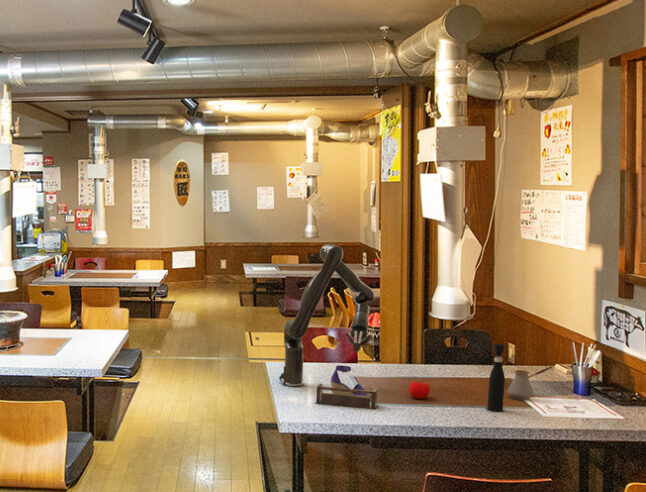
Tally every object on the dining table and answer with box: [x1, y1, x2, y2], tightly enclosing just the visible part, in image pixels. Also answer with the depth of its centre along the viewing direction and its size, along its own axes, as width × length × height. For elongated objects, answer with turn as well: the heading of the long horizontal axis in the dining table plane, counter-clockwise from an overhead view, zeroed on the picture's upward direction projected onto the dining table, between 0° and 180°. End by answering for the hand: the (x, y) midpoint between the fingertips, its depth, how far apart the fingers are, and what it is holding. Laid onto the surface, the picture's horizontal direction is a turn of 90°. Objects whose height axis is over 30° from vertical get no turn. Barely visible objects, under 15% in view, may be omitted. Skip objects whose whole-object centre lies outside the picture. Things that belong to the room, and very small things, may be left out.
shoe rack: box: [315, 383, 378, 410], centre depth 350 cm, size 26×7×8 cm, turn 69°
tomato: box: [408, 380, 431, 400], centre depth 360 cm, size 9×10×8 cm
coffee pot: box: [506, 366, 555, 401], centre depth 359 cm, size 21×12×15 cm, turn 97°
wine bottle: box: [486, 343, 506, 413], centre depth 338 cm, size 6×6×30 cm
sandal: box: [330, 364, 372, 398], centre depth 363 cm, size 8×20×15 cm, turn 78°
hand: (356, 350), depth 373 cm, fingers closed
